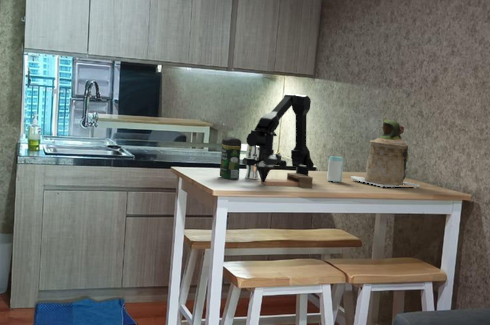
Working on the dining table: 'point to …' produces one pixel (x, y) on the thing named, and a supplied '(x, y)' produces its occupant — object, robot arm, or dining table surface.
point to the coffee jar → (230, 158)
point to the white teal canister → (335, 169)
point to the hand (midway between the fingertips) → (262, 182)
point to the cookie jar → (387, 158)
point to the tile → (280, 182)
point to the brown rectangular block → (300, 179)
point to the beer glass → (253, 153)
